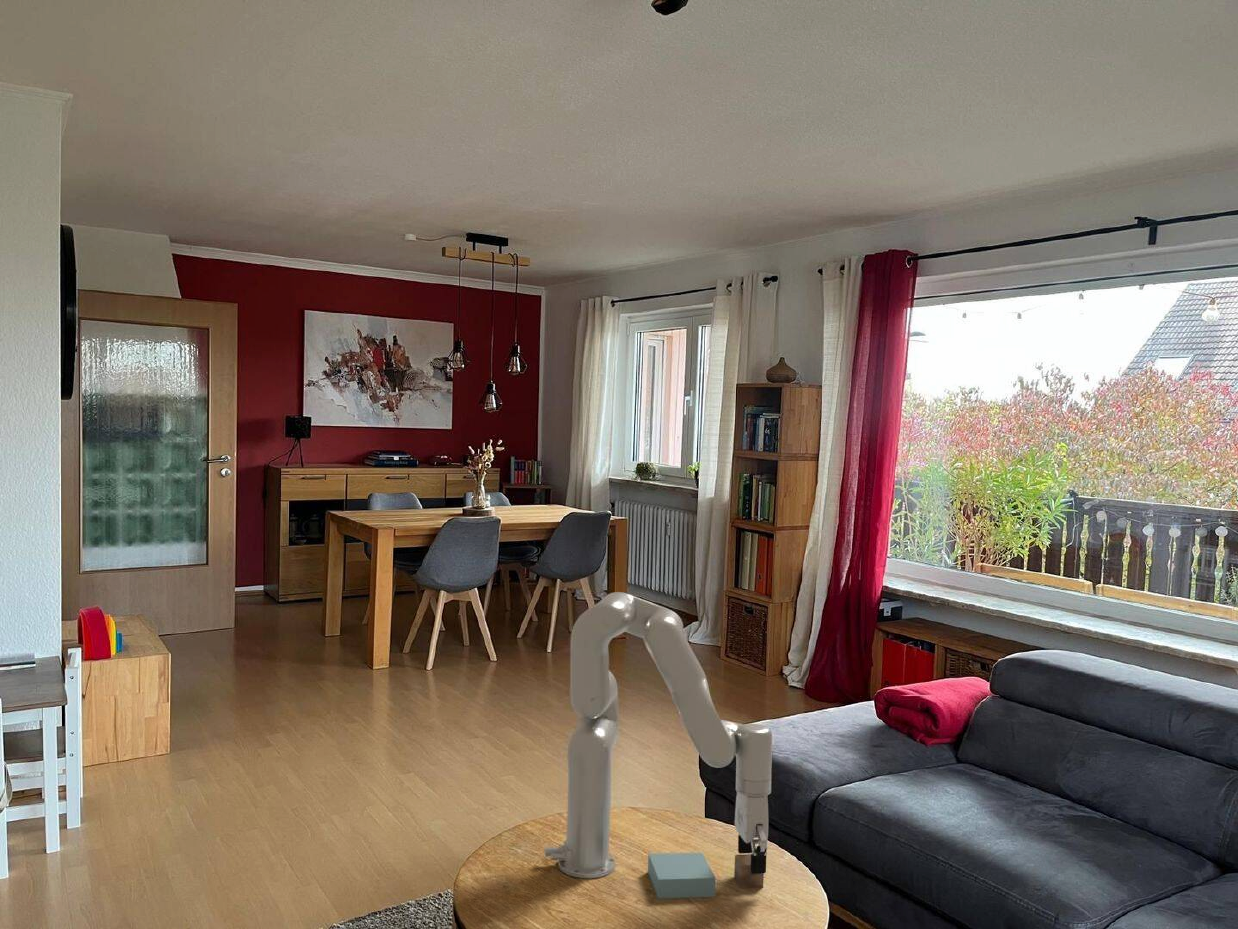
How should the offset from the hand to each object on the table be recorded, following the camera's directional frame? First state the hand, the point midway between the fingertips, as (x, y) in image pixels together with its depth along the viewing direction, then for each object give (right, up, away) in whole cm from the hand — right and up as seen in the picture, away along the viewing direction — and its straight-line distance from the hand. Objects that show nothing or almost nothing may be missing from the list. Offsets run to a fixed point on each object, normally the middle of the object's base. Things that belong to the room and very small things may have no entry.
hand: (751, 862), depth 202 cm
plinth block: (-15, -4, -2) cm, 16 cm away
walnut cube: (-1, -4, 0) cm, 4 cm away
